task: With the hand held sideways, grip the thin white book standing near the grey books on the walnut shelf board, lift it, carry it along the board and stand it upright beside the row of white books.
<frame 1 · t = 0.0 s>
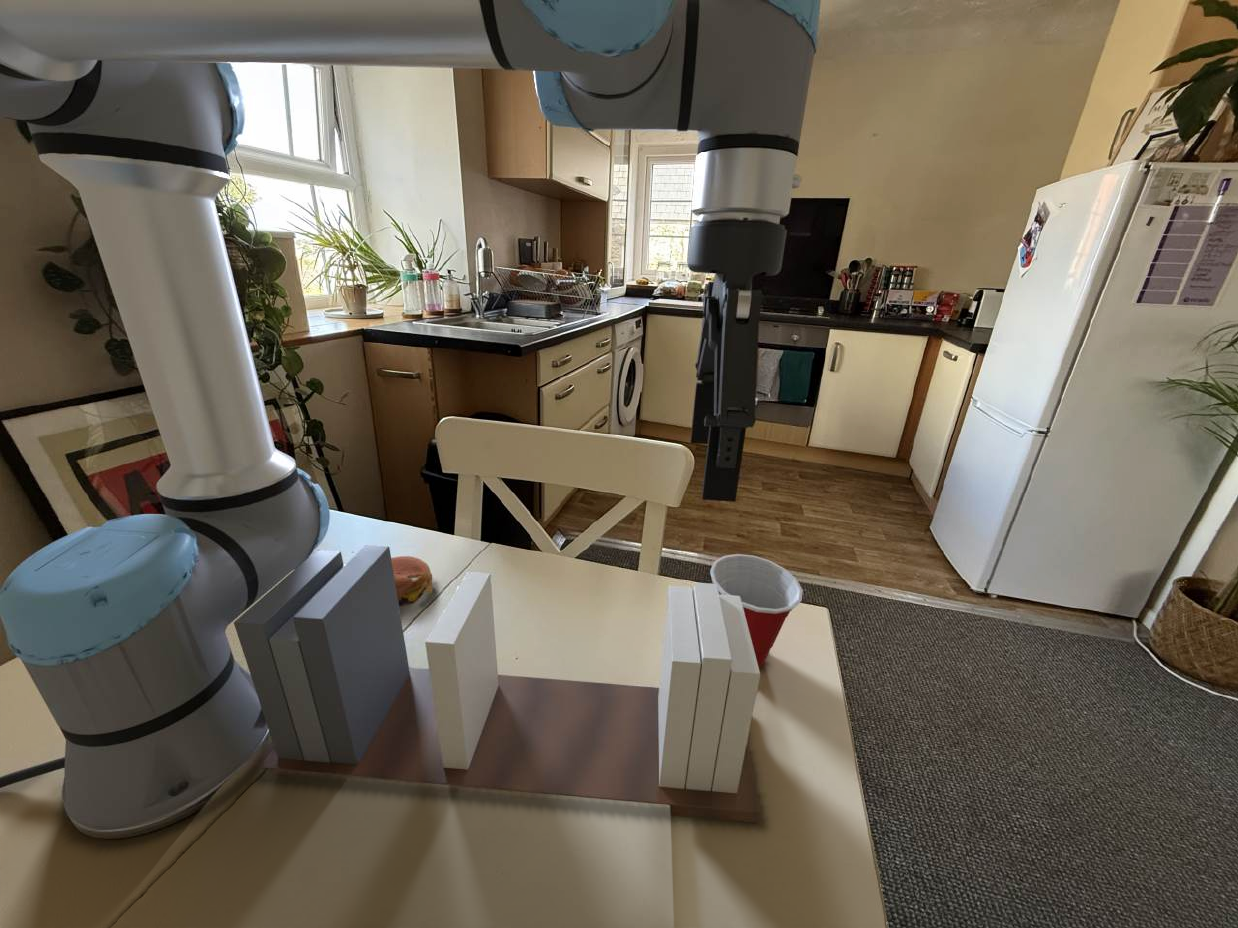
hand: (709, 467, 47), 28 cm above the table, tool pointing down, fingers open, 13 cm apart
grey books: (350, 712, 51), resting on shelf board
white books: (693, 741, 50), resting on shelf board
burger: (400, 595, 72), on the table
plastic cup: (742, 656, 63), on the table
shelf board: (521, 737, 51), on the table
white book: (473, 722, 51), point 1 cm above the table, touching shelf board
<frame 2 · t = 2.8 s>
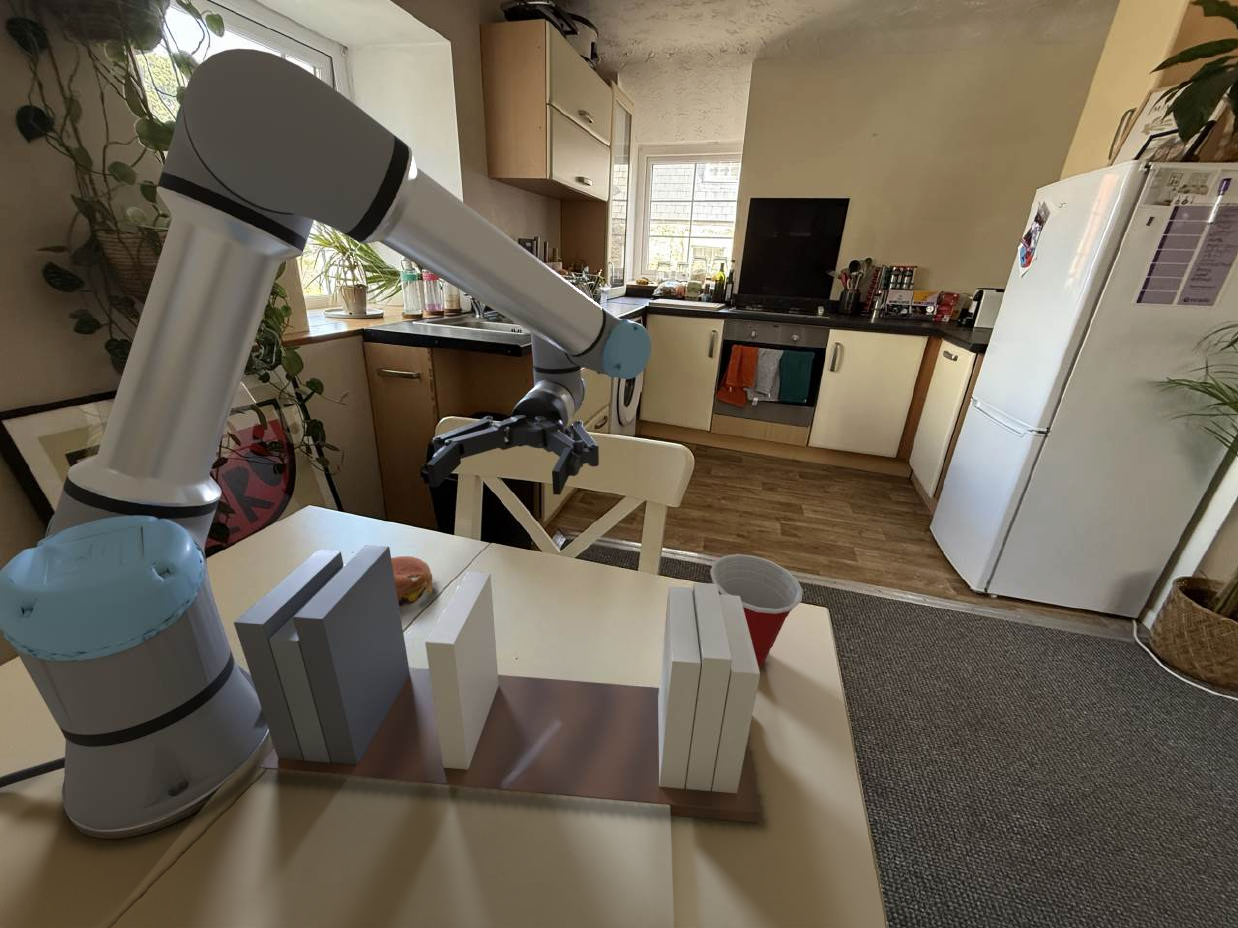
hand: (492, 479, 52), 24 cm above the table, tool horizontal, fingers open, 13 cm apart
nothing on the table moved.
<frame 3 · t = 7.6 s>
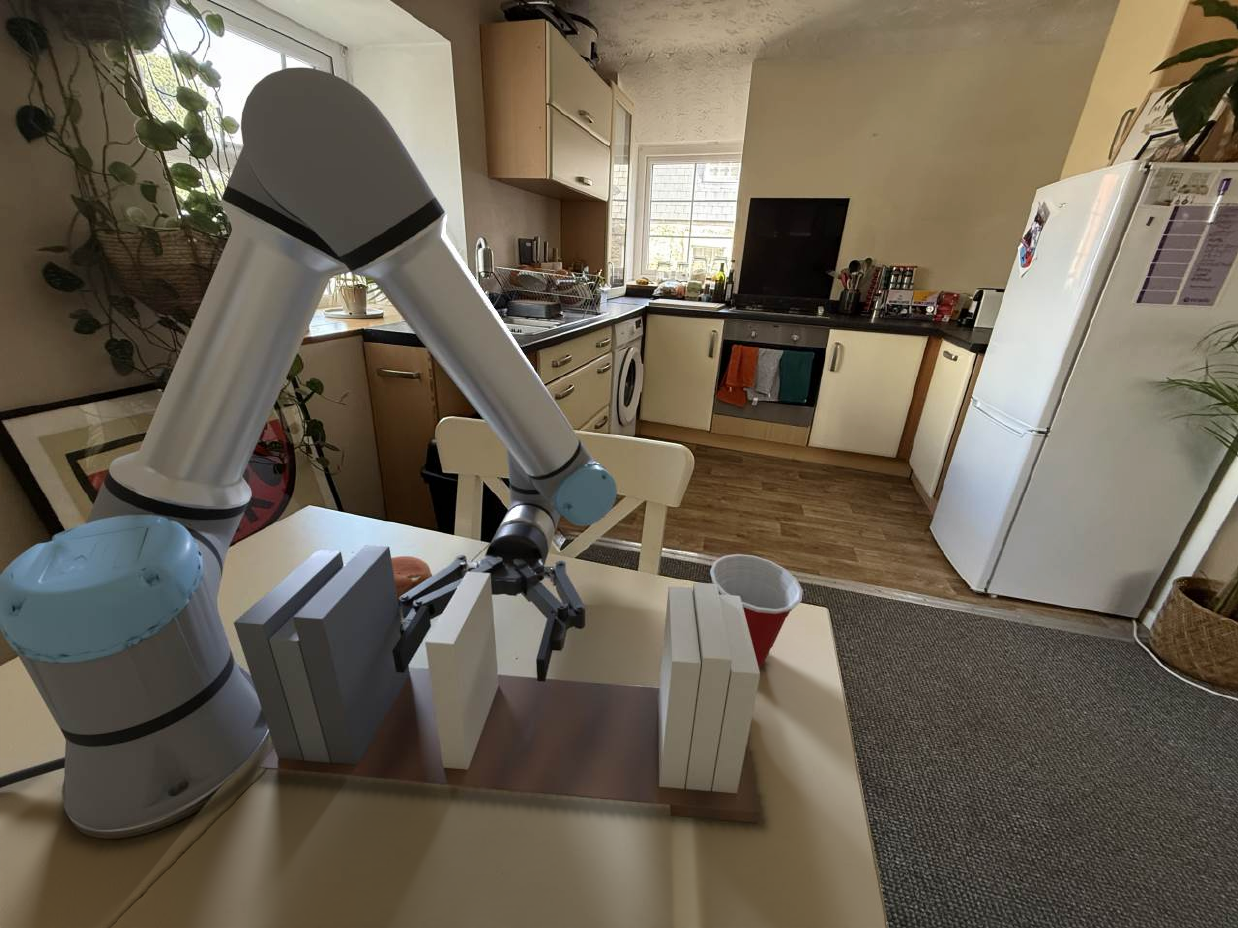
hand: (468, 666, 47), 10 cm above the table, tool horizontal, fingers open, 13 cm apart
nothing on the table moved.
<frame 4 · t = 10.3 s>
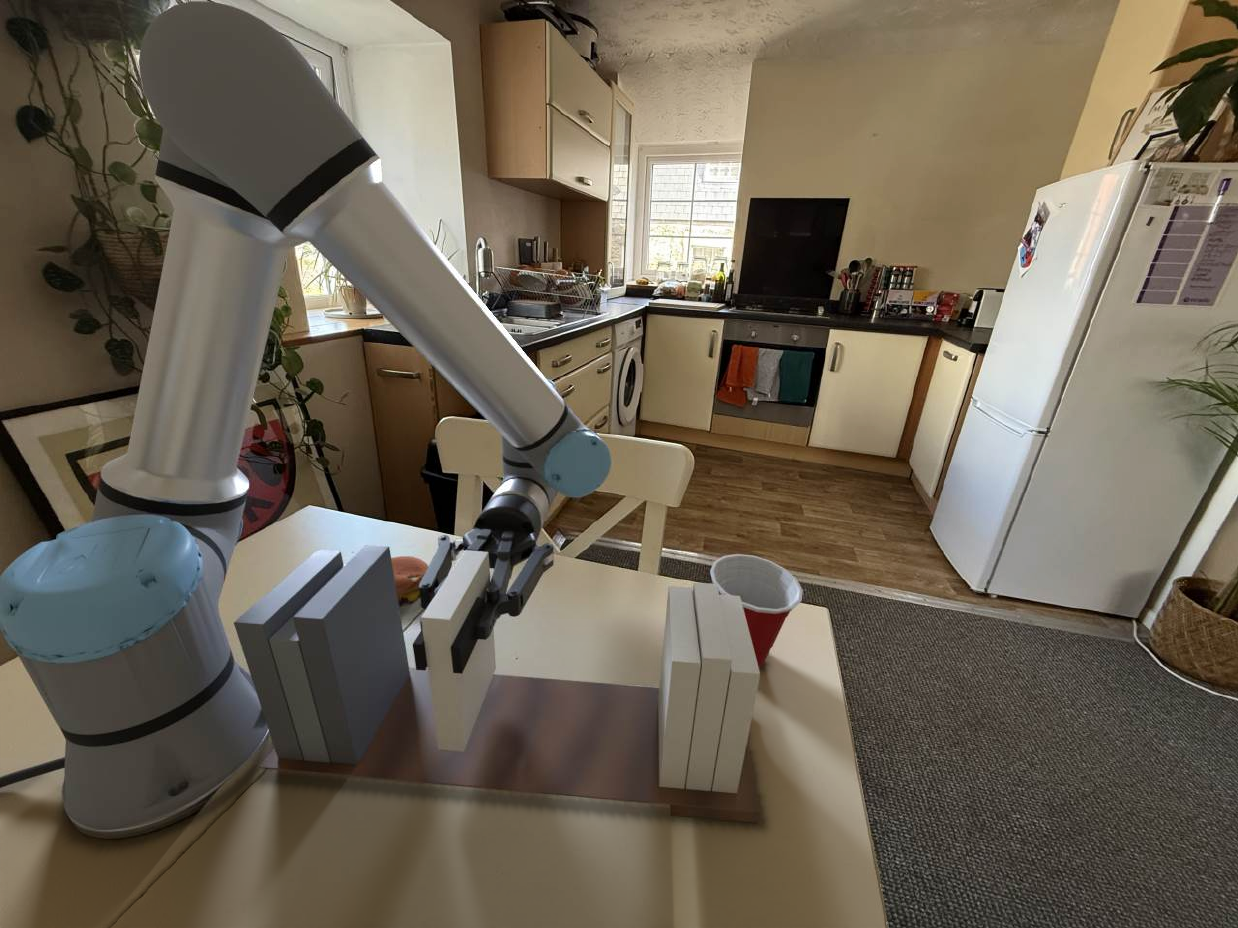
hand: (437, 658, 40), 15 cm above the table, tool horizontal, fingers closed on white book, 2 cm apart
white book: (469, 705, 50), point 4 cm above the table, touching gripper
everything else where it was.
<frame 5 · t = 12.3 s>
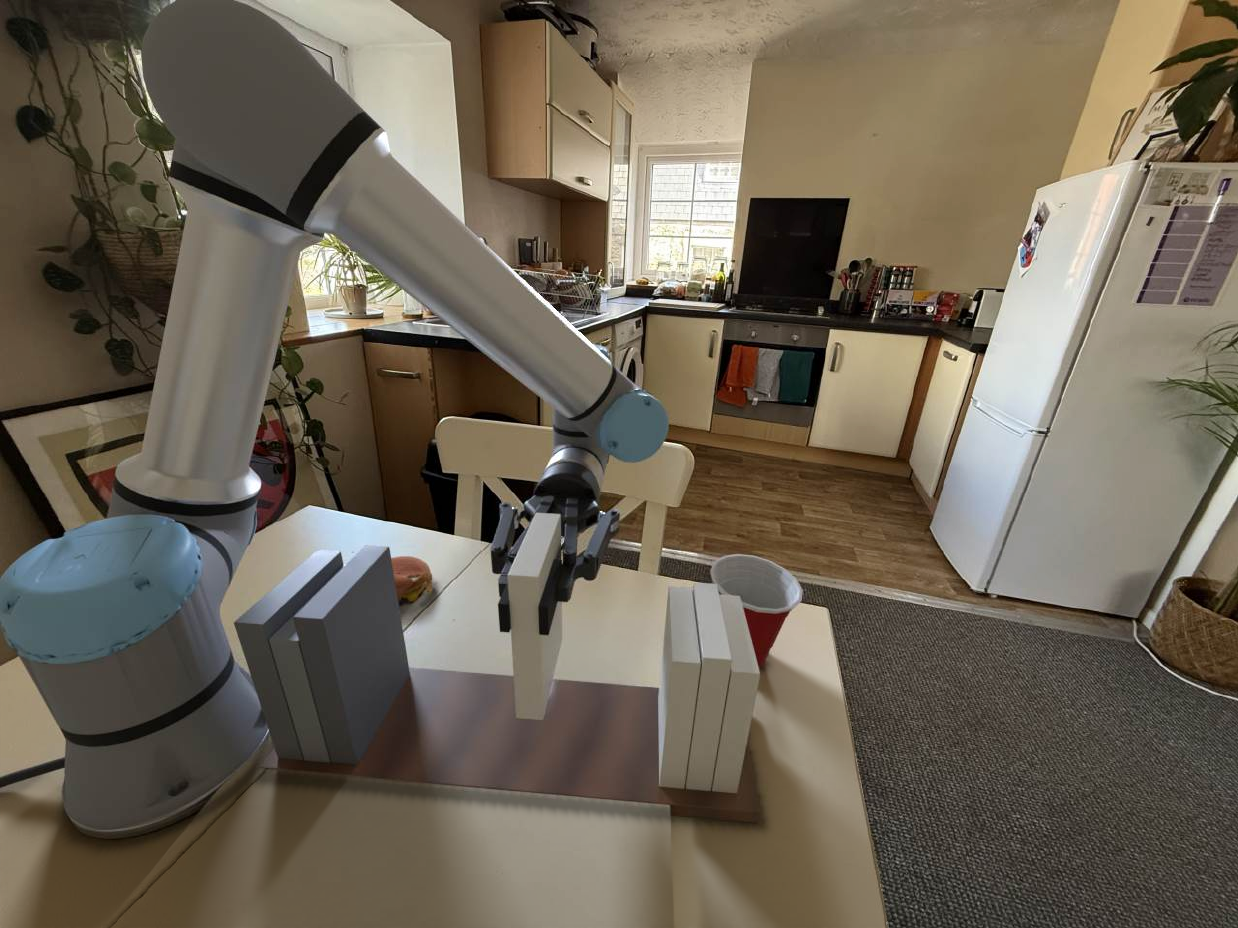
hand: (523, 619, 38), 20 cm above the table, tool horizontal, fingers closed on white book, 2 cm apart
white book: (541, 674, 48), point 9 cm above the table, touching gripper
everything else where it was.
when the fingers open (12 cm above the table, at t = 14.9 s): white book stays where it is, resting on shelf board.
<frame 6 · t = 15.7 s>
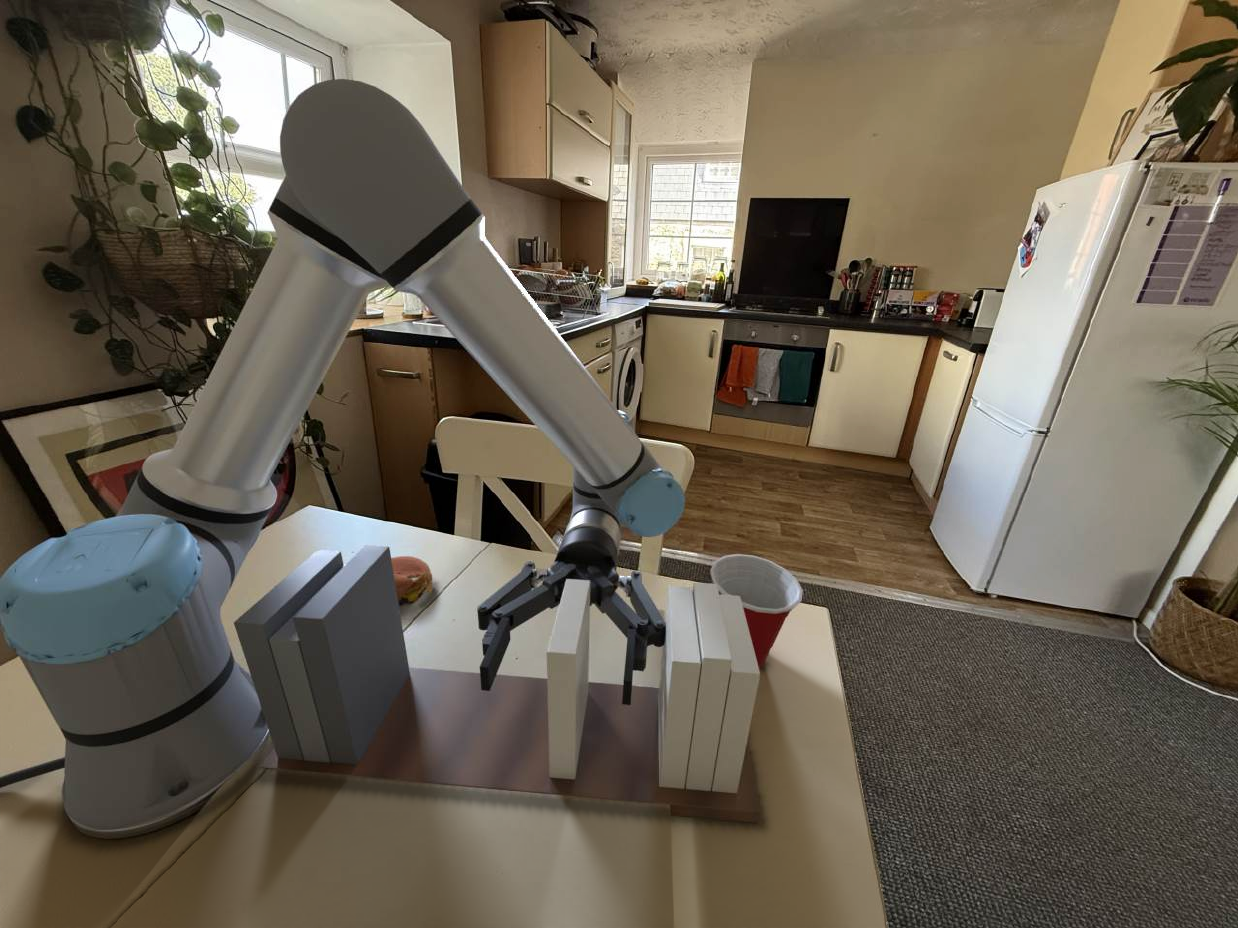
hand: (555, 686, 43), 12 cm above the table, tool horizontal, fingers open, 12 cm apart
white book: (570, 731, 50), point 1 cm above the table, touching shelf board
everything else where it was.
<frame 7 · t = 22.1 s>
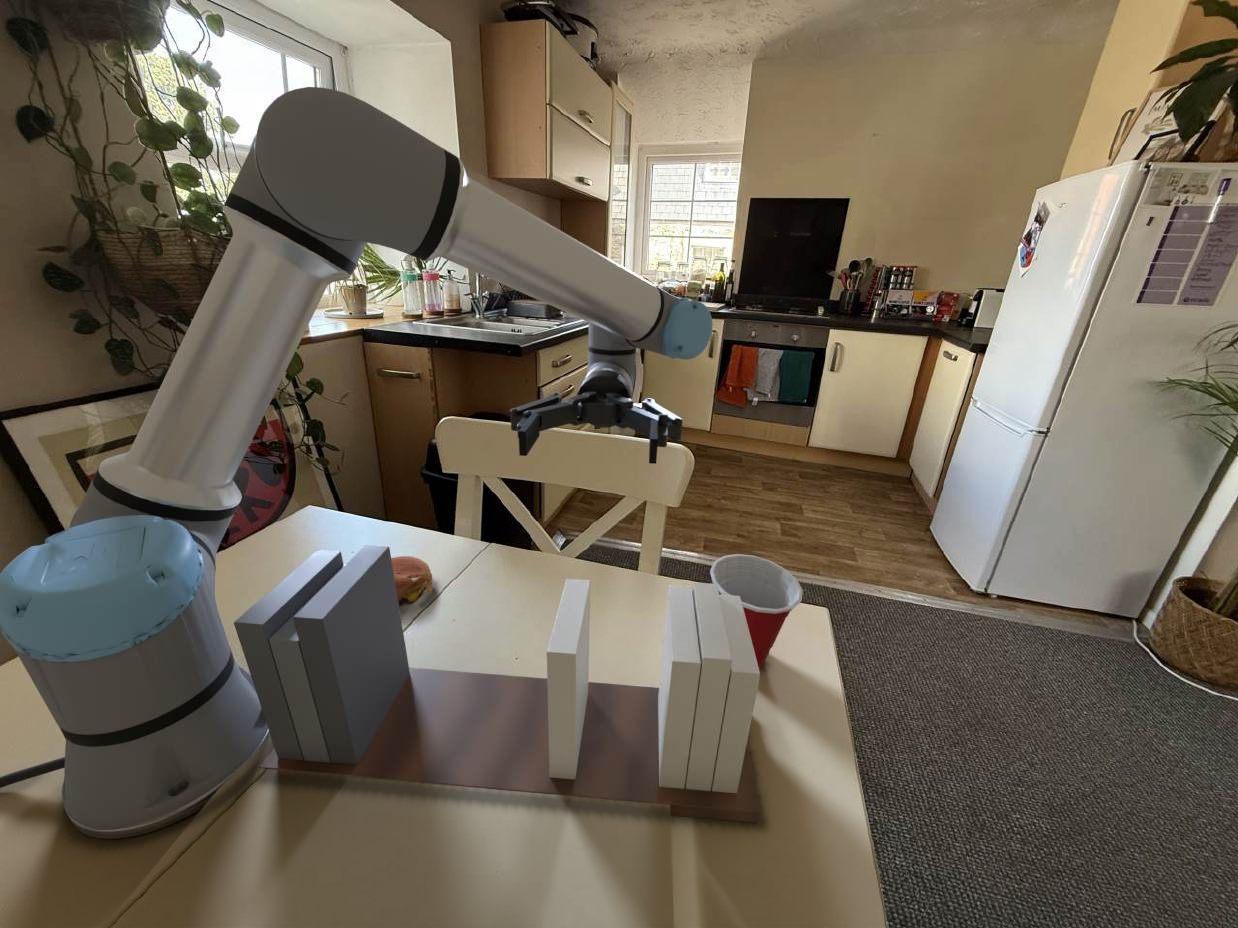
hand: (587, 447, 51), 28 cm above the table, tool horizontal, fingers open, 13 cm apart
nothing on the table moved.
at the end: white book 12.5 cm from the white books (horizontally); white book tilted 0°; the gripper is holding nothing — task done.
